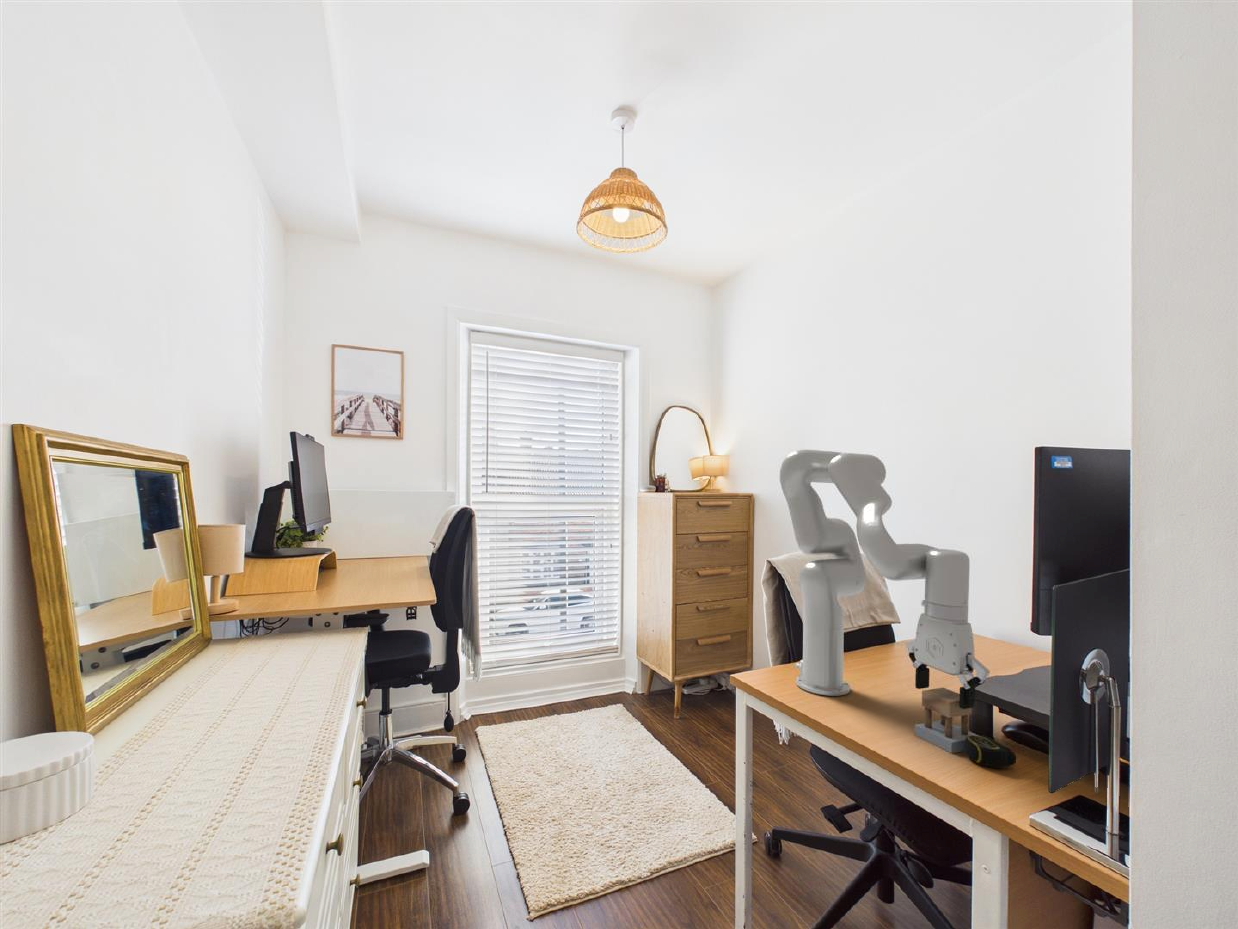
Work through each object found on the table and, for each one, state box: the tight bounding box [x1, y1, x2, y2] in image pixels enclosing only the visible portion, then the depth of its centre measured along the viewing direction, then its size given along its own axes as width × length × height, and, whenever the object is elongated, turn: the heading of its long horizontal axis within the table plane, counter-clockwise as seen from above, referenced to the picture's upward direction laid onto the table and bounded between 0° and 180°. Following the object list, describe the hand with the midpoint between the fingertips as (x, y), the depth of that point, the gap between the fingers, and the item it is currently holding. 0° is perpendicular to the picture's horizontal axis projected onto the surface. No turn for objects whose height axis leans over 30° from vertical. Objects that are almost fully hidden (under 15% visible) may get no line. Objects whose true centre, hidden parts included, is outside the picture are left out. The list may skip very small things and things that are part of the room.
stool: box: [921, 687, 973, 738], centre depth 107 cm, size 6×6×7 cm
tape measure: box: [963, 734, 1017, 769], centre depth 98 cm, size 7×7×4 cm
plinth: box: [914, 719, 979, 754], centre depth 106 cm, size 8×8×2 cm
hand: (943, 697), depth 107 cm, fingers open, 9 cm apart
